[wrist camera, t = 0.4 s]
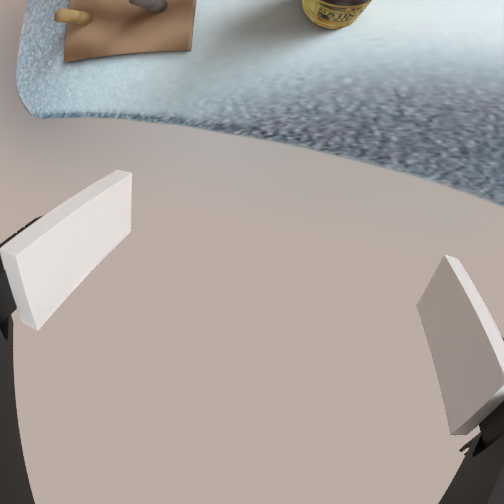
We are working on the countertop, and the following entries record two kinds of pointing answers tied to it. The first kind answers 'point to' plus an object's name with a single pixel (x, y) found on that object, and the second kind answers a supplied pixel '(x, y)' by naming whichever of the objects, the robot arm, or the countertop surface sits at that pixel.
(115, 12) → the pin board
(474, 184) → the countertop surface
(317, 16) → the sauce bottle
